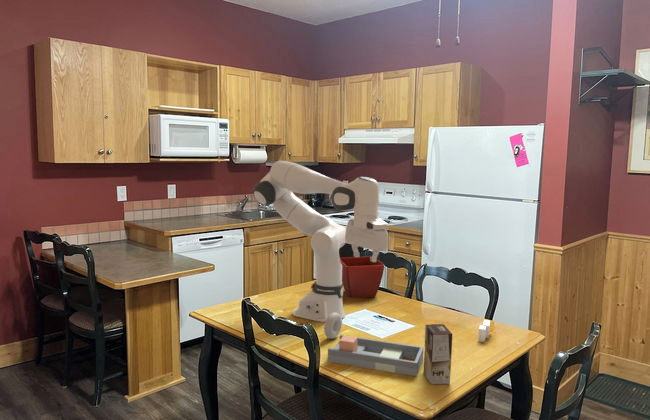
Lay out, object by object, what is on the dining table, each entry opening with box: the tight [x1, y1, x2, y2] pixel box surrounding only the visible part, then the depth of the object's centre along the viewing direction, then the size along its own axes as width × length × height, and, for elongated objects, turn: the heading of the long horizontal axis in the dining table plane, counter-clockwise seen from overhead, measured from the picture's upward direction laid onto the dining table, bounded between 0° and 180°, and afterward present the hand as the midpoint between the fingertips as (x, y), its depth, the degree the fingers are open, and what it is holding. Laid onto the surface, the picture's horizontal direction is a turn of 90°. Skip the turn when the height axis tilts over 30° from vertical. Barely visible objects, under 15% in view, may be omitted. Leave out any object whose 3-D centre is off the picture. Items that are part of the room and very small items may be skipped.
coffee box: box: [423, 323, 453, 385], centre depth 157 cm, size 9×6×16 cm
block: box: [338, 334, 358, 352], centre depth 169 cm, size 5×5×5 cm
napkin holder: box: [477, 319, 491, 343], centre depth 193 cm, size 15×11×6 cm
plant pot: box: [340, 256, 385, 299], centre depth 246 cm, size 19×19×17 cm
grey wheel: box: [323, 312, 343, 340], centre depth 188 cm, size 10×4×10 cm, turn 148°
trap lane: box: [327, 334, 425, 377], centre depth 169 cm, size 30×14×4 cm, turn 71°
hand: (364, 259), depth 182 cm, fingers open, 8 cm apart
